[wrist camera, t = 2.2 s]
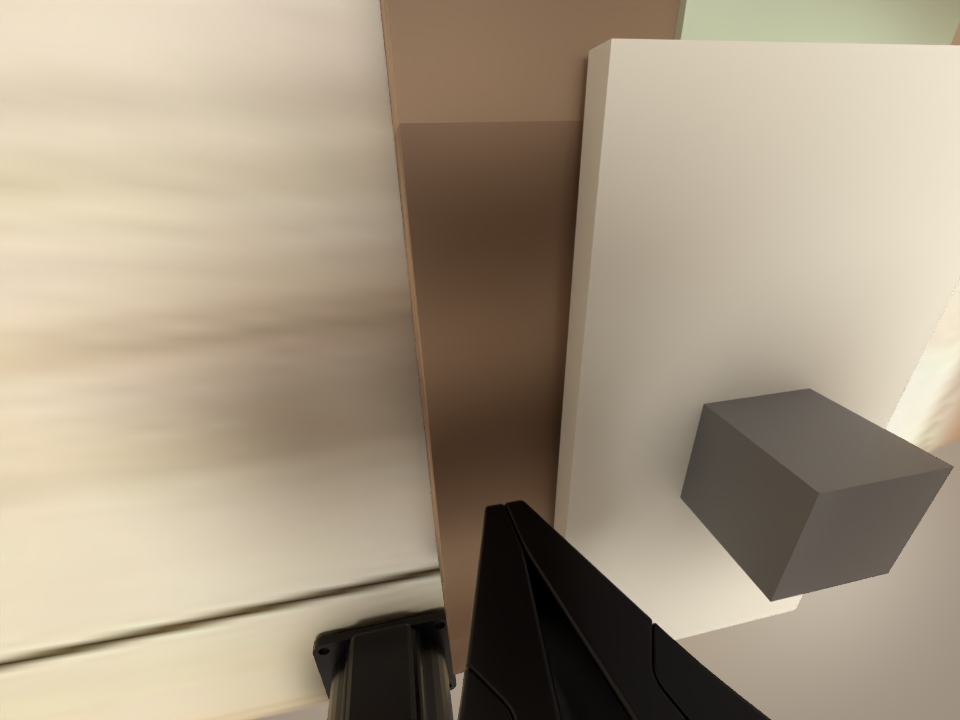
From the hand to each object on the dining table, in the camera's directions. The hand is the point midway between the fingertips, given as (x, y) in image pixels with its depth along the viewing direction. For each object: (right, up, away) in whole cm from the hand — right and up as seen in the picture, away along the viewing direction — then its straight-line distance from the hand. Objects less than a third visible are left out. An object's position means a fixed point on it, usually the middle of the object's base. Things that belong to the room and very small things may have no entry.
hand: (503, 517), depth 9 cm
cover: (+6, +1, +3) cm, 7 cm away
